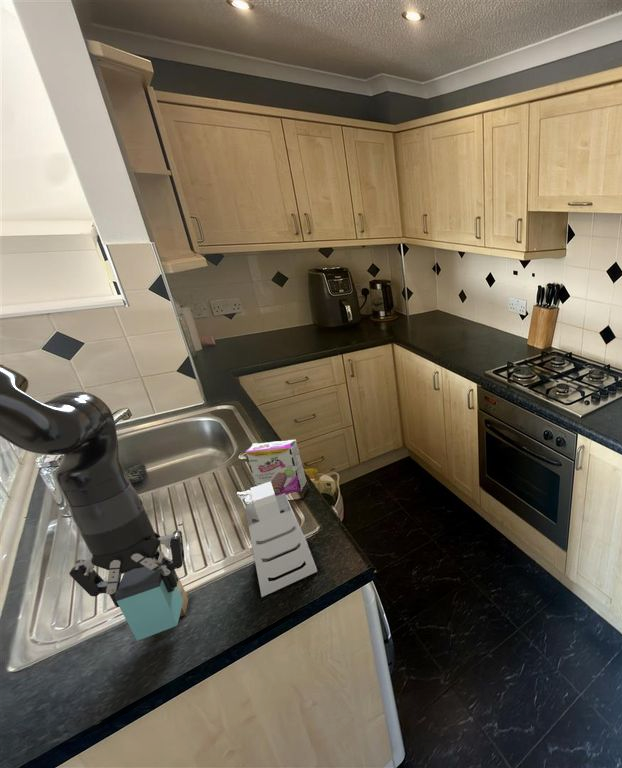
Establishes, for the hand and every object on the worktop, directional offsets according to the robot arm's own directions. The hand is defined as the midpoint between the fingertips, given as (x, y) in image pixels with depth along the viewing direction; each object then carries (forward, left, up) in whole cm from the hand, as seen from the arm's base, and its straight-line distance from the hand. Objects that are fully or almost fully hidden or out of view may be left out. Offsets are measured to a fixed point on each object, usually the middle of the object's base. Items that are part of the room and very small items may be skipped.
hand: (150, 596), depth 70 cm
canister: (0, +4, -5) cm, 6 cm away
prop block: (0, +7, -10) cm, 12 cm away
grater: (+19, +7, -10) cm, 23 cm away
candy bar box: (+20, +36, -10) cm, 43 cm away
